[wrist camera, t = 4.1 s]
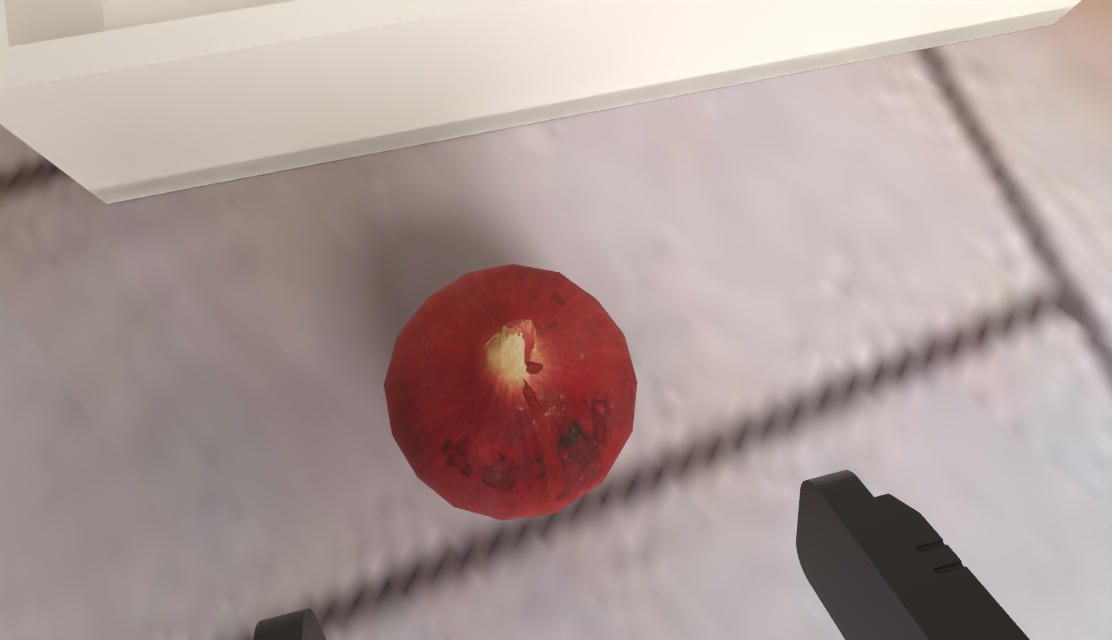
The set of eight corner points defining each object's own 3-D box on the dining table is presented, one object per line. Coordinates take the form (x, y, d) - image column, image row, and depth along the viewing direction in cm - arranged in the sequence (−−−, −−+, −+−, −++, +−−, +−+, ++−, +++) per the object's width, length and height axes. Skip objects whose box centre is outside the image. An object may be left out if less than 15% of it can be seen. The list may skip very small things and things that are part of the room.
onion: (651, 439, 21) (738, 405, 14) (479, 558, 20) (468, 595, 12) (538, 274, 22) (559, 153, 14) (368, 379, 21) (292, 309, 13)
